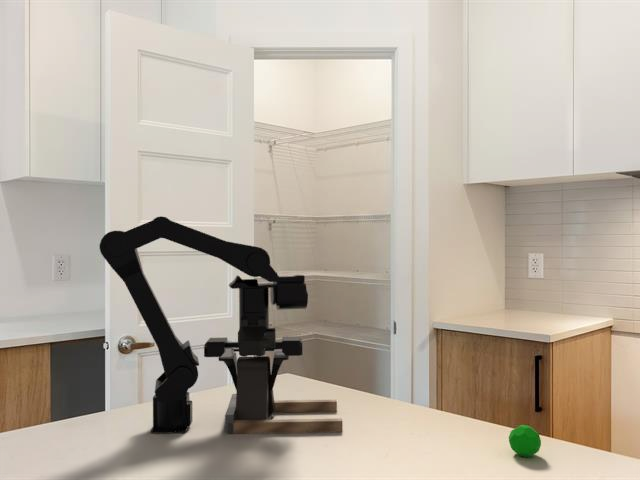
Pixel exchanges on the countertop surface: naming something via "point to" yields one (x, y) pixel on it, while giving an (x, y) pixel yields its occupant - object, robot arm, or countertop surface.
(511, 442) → the polyhedron
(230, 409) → the end stop
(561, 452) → the countertop surface
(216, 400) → the countertop surface
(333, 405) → the guide track
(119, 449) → the countertop surface
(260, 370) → the phone stand
